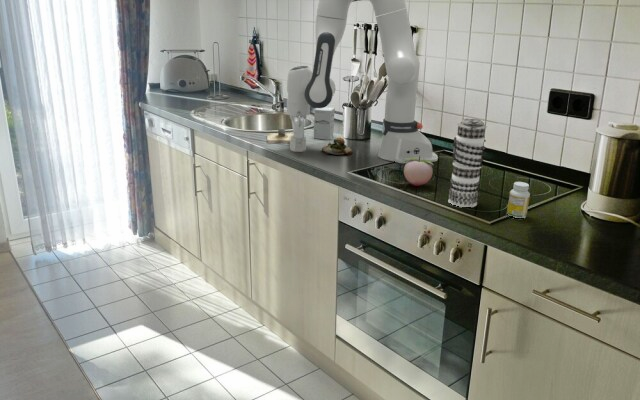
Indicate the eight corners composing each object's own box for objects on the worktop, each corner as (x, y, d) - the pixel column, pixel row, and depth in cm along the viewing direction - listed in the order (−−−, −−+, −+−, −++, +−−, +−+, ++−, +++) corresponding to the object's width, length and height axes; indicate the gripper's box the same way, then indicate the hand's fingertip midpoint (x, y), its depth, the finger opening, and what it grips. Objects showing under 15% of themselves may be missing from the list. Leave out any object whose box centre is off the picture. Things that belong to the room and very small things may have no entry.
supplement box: (313, 138, 237) (313, 109, 233) (317, 134, 244) (318, 105, 239) (330, 140, 235) (331, 110, 231) (333, 136, 242) (334, 107, 238)
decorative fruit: (402, 189, 178) (404, 159, 174) (402, 181, 186) (404, 152, 182) (432, 191, 177) (435, 161, 173) (431, 183, 184) (434, 154, 181)
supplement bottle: (515, 220, 156) (520, 187, 152) (502, 213, 160) (507, 182, 157) (530, 218, 158) (535, 185, 154) (517, 211, 162) (522, 180, 159)
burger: (315, 151, 219) (316, 133, 216) (339, 147, 225) (339, 129, 223) (335, 159, 210) (335, 139, 207) (358, 154, 217) (359, 135, 214)
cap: (305, 147, 223) (305, 135, 221) (306, 151, 217) (306, 139, 216) (290, 147, 222) (290, 135, 221) (290, 151, 217) (290, 139, 215)
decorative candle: (446, 196, 173) (454, 116, 164) (476, 198, 172) (487, 118, 163) (447, 206, 165) (456, 122, 156) (479, 209, 163) (491, 124, 155)
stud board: (295, 136, 240) (295, 126, 239) (296, 143, 229) (296, 133, 228) (267, 136, 239) (267, 126, 238) (267, 143, 228) (267, 133, 227)
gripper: (308, 115, 205) (307, 151, 210) (304, 104, 224) (304, 138, 229) (291, 115, 204) (290, 151, 209) (289, 104, 223) (288, 138, 228)
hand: (297, 144), depth 219 cm, fingers open, 8 cm apart
